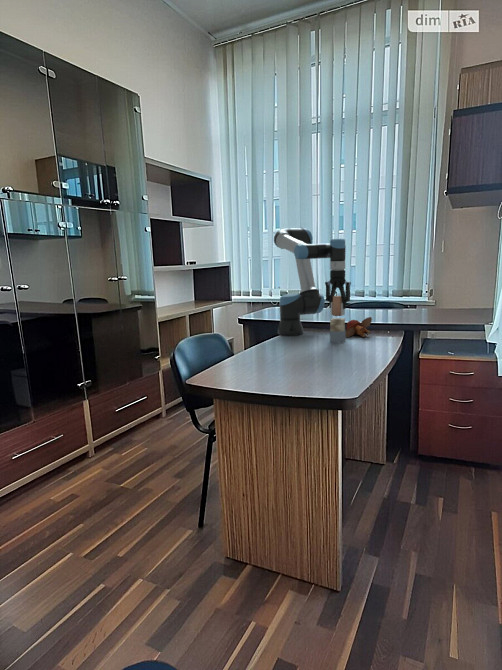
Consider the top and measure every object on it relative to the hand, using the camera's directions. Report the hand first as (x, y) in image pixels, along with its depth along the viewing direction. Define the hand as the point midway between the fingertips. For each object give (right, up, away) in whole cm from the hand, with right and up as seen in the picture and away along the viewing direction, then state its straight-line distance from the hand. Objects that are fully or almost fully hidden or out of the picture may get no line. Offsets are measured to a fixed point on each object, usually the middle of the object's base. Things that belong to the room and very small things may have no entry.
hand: (337, 314), depth 211 cm
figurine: (+14, -11, +14) cm, 23 cm away
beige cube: (0, -8, +2) cm, 8 cm away
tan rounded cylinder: (0, 0, 0) cm, 0 cm away
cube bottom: (+1, -14, +3) cm, 14 cm away
